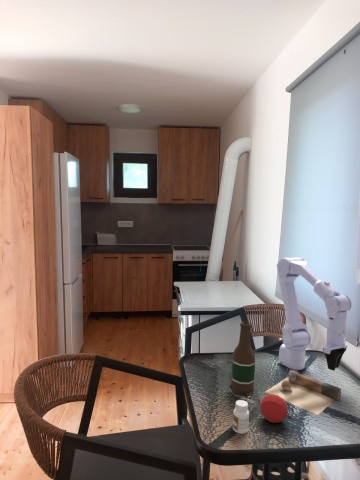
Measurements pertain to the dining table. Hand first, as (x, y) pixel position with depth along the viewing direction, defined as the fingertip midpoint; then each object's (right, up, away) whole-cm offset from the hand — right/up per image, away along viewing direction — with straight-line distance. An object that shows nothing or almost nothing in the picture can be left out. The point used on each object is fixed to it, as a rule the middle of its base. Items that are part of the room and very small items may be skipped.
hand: (333, 368), depth 123 cm
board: (-12, -8, -4) cm, 15 cm away
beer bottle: (-32, -8, -1) cm, 33 cm away
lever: (-8, -7, -1) cm, 10 cm away
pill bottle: (-36, -9, -22) cm, 43 cm away
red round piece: (-25, -9, -17) cm, 32 cm away
